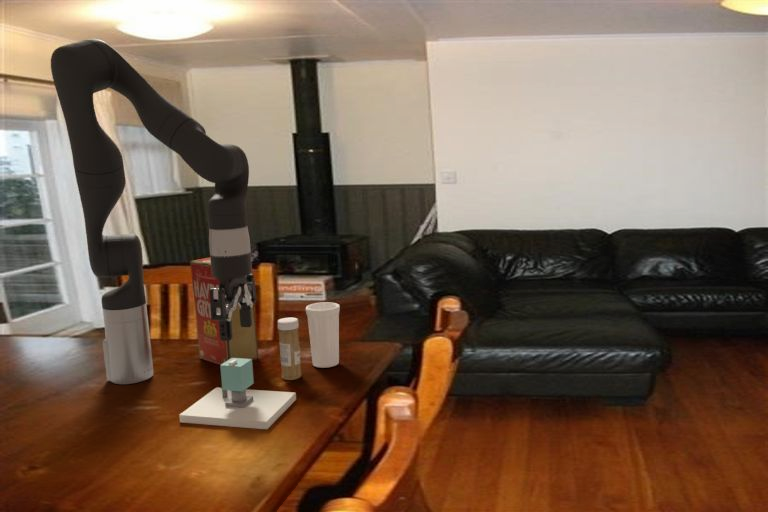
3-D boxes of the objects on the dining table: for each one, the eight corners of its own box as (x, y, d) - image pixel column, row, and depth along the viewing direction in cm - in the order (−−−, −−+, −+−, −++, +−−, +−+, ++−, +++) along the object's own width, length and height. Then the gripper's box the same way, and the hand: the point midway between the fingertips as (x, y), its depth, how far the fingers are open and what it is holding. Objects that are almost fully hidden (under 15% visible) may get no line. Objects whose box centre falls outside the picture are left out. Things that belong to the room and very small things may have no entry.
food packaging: (197, 358, 155) (188, 260, 151) (228, 348, 162) (220, 254, 158) (228, 369, 147) (220, 265, 143) (260, 358, 154) (253, 258, 150)
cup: (330, 372, 142) (326, 312, 139) (301, 367, 146) (298, 308, 143) (349, 361, 149) (346, 303, 146) (321, 357, 153) (318, 300, 150)
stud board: (179, 422, 118) (177, 398, 117) (216, 394, 131) (215, 373, 131) (267, 429, 114) (265, 405, 113) (296, 399, 127) (294, 377, 126)
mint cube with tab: (234, 381, 124) (232, 354, 123) (253, 383, 123) (251, 356, 122) (222, 389, 120) (219, 362, 119) (242, 391, 119) (240, 363, 118)
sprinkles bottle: (305, 377, 139) (301, 319, 137) (286, 382, 137) (282, 323, 135) (296, 372, 143) (292, 315, 141) (278, 376, 141) (274, 319, 138)
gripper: (231, 258, 110) (238, 345, 113) (264, 244, 124) (269, 323, 127) (192, 257, 112) (200, 344, 115) (229, 244, 125) (235, 321, 128)
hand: (236, 333), depth 121 cm, fingers open, 8 cm apart
